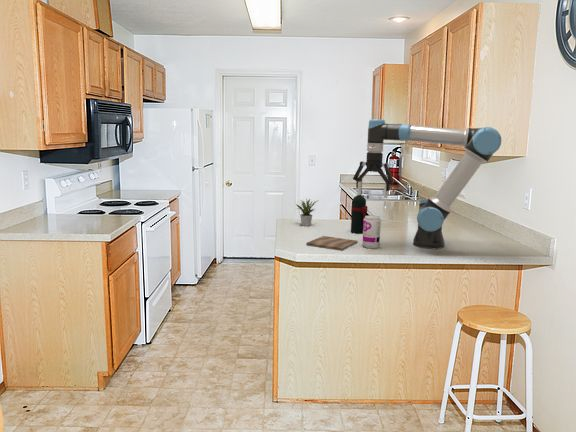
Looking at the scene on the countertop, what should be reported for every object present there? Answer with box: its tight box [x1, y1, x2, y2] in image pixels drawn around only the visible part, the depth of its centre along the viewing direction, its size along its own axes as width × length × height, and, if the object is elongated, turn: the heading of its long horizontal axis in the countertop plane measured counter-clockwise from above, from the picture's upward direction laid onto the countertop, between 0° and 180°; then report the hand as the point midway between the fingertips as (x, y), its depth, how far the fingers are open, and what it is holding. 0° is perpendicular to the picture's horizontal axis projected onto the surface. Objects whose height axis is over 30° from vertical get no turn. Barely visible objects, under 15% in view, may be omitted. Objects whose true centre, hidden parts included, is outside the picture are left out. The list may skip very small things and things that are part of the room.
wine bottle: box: [350, 177, 368, 235], centre depth 280 cm, size 8×10×30 cm
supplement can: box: [361, 215, 382, 249], centre depth 250 cm, size 8×8×15 cm
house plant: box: [294, 198, 318, 227], centre depth 299 cm, size 14×14×16 cm
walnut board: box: [306, 235, 358, 252], centre depth 255 cm, size 19×19×1 cm
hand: (372, 196), depth 248 cm, fingers open, 13 cm apart
